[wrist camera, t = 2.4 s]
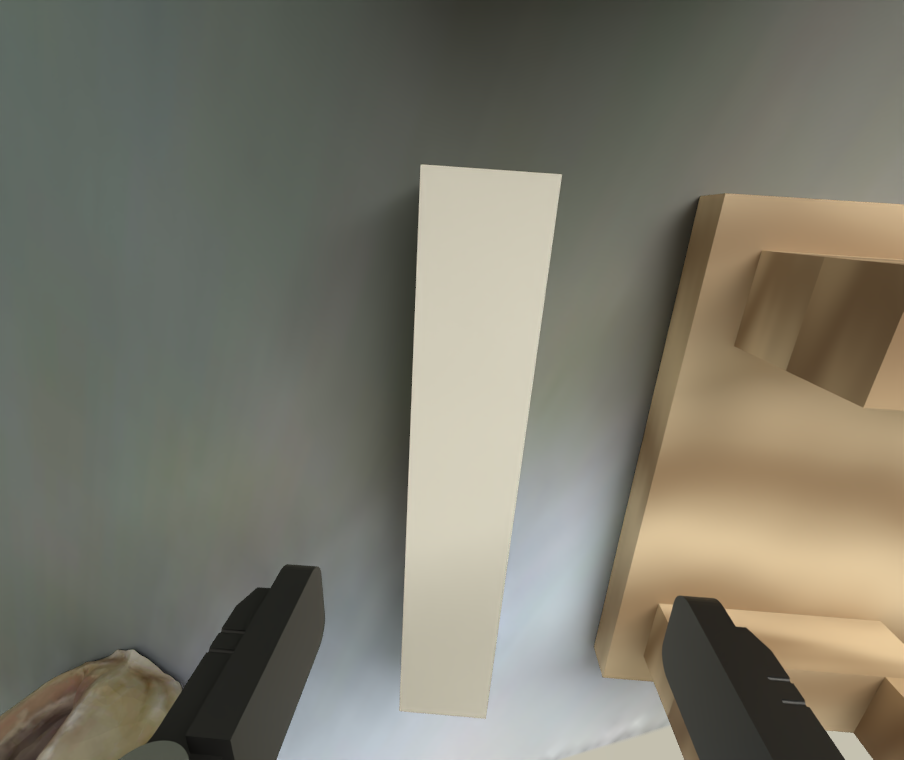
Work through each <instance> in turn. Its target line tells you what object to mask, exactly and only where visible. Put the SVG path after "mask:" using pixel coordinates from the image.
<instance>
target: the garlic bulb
mask: <svg viewBox="0 0 904 760" xmlns="http://www.w3.org/2000/svg"><path fill="white" fill-rule="evenodd" d="M181 691H182V687H181V685H180V683H179V682H177V681H175V680H174V679H173V678H172V677H171V676H170V675H167V674H165V673H163V672H162V671H161V670H160V669H159V668H158V667H157V666H156V665H155V664H153V663H152V662H151V661H150V660H148V659H147V658H145V657H143V656H141V655H140V654H138V653H137V652H136V651H135V650H127V651H124V650H116V651H115V652H114V653H113V654H112V655H110V656H108V657H106V658H103V659H100V660H97V661H92V662H85V663H84V664H83V665H81V666H79V667H76V668H74V669H72V670H70V671H67V672H65V673H63V674H61V675H59V676H57V677H55V678H53V679H51V680H50V681H48V682H46V683H45V684H43V685H42V686H41V687H40V688H38V689H37V690H36V691H34V692H33V693H31V694H30V695H29V696H27V697H26V698H25V699H23V700H22V701H21V702H19V703H18V704H16V705H15V706H13V707H12V708H11V709H9V710H8V711H6V712H5V713H4V714H2V715H1V716H0V760H118V759H120V758H121V757H123V756H124V755H126V754H127V753H129V752H130V751H132V750H134V749H136V748H138V747H140V746H142V745H144V744H146V743H147V742H148V741H149V739H150V738H151V737H152V736H153V734H154V733H155V732H156V730H157V729H158V727H159V726H160V724H161V723H162V721H163V719H164V718H165V716H166V715H167V713H168V712H169V710H170V708H171V707H172V705H173V704H174V702H175V701H176V699H177V698H178V696H179V694H180V693H181Z"/></svg>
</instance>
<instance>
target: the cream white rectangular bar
mask: <svg viewBox="0 0 904 760" xmlns="http://www.w3.org/2000/svg"><path fill="white" fill-rule="evenodd" d="M561 178H562V174H549V173H535V172H521V171H507V170H493V169H478V168H464V167H450V166H436V165H422V164H421V169H420V194H419V220H418V246H417V271H416V297H415V323H414V348H413V374H412V400H411V425H410V451H409V477H408V502H407V528H406V553H405V579H404V605H403V630H402V656H401V682H400V707H399V711H404V712H416V713H427V714H439V715H450V716H462V717H473V718H485V719H486V713H487V706H488V698H489V691H490V684H491V677H492V670H493V663H494V656H495V649H496V641H497V634H498V627H499V620H500V613H501V606H502V599H503V592H504V584H505V577H506V570H507V563H508V556H509V549H510V542H511V534H512V527H513V520H514V513H515V506H516V499H517V492H518V485H519V477H520V470H521V463H522V456H523V449H524V442H525V435H526V428H527V420H528V413H529V406H530V399H531V392H532V385H533V378H534V371H535V363H536V356H537V349H538V342H539V335H540V328H541V321H542V314H543V306H544V299H545V292H546V285H547V278H548V271H549V264H550V257H551V249H552V242H553V235H554V228H555V221H556V214H557V207H558V199H559V192H560V185H561Z"/></svg>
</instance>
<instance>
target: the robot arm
mask: <svg viewBox="0 0 904 760" xmlns="http://www.w3.org/2000/svg"><path fill="white" fill-rule="evenodd" d="M324 624H325V611H324V600H323V589H322V577H321V570H320V568H319V567H315V566H301V565H288V564H287V565H285V566H284V567H283V568H282V569H281V571H280V573H279V574H278V576H277V578H276V580H275V581H274V583H273V585H272V586H271V588H256V589H255V590H254V591H253V592H252V593H251V594H249V595H248V596H247V597H246V598H245V599H244V600H243V601H241V602H240V603H239V604H238V605H237V606H236V607H235V609H234V610H233V612H232V613H231V615H230V617H229V618H228V620H227V621H226V623H225V624H224V626H223V627H222V631H221V633H219V634H218V635H217V637H216V638H215V640H214V641H213V643H212V645H211V646H210V649H209V652H208V653H206V654H205V656H204V657H203V659H202V660H201V662H200V663H199V665H198V666H197V668H196V670H195V671H194V673H193V674H192V676H191V677H190V679H189V680H188V682H187V684H186V685H185V687H184V688H183V690H182V691H181V693H180V694H179V696H178V698H177V699H176V701H175V702H174V704H173V705H172V707H171V708H170V710H169V712H168V713H167V715H166V716H165V718H164V719H163V721H162V723H161V724H160V726H159V727H158V729H157V730H156V732H155V733H154V734H153V736H152V737H151V738H150V739H149V741H148V742H147V743H146V744H144V745H142V746H140V747H138V748H136V749H134V750H132V751H130V752H129V753H127V754H126V755H124V756H123V757H121V758H120V759H118V760H276V759H277V756H278V754H279V751H280V749H281V746H282V743H283V741H284V738H285V736H286V733H287V730H288V728H289V725H290V723H291V720H292V717H293V715H294V712H295V710H296V707H297V704H298V702H299V699H300V697H301V694H302V691H303V689H304V686H305V683H306V681H307V678H308V676H309V673H310V670H311V668H312V665H313V663H314V660H315V657H316V655H317V652H318V650H319V647H320V644H321V640H322V636H323V631H324ZM662 661H663V667H664V672H665V675H666V678H667V681H668V683H669V686H670V688H671V691H672V693H673V696H674V698H675V700H676V703H677V705H678V708H679V710H680V713H681V715H682V718H683V720H684V723H685V725H686V728H687V730H688V733H689V735H690V738H691V740H692V743H693V745H694V748H695V750H696V753H697V755H698V758H699V760H845V759H844V757H843V756H842V755H841V753H840V752H839V750H838V749H837V747H836V746H835V744H834V743H833V741H832V740H831V738H830V737H829V735H828V734H827V732H826V731H825V729H824V728H823V726H822V725H821V723H820V722H819V720H818V719H817V717H816V716H815V714H814V713H813V711H812V710H811V708H810V707H807V706H806V704H805V700H804V698H803V697H802V695H801V694H800V692H799V691H798V689H797V688H796V686H795V685H794V683H791V682H790V677H789V676H788V674H787V673H786V671H785V670H784V668H783V667H782V665H781V664H780V662H779V661H778V660H777V658H776V657H775V655H774V654H773V652H772V651H771V650H770V649H769V648H768V647H767V646H766V645H765V644H764V643H763V642H762V641H760V640H759V639H758V638H757V637H756V636H755V635H754V634H753V633H752V632H751V631H750V630H749V629H747V628H746V627H736V626H735V624H734V623H733V621H732V620H731V618H730V616H729V615H728V613H727V612H726V610H725V608H724V607H723V605H722V604H721V603H720V602H719V601H718V600H717V599H715V598H707V597H694V596H680V595H679V596H677V597H676V598H675V600H674V603H673V607H672V611H671V615H670V618H669V622H668V626H667V629H666V633H665V637H664V641H663V645H662Z"/></svg>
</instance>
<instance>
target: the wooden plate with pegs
mask: <svg viewBox="0 0 904 760" xmlns="http://www.w3.org/2000/svg"><path fill="white" fill-rule="evenodd" d="M679 595H680V596H694V597H707V598H715V599H717V600H718V601H719V602H720V603H721V604H722V605H723V607H724V608H725V610H726V612H727V613H728V615H729V616H730V618H731V620H732V621H733V623H734V624H735V626H736V627H746V628H747V629H749V630H750V631H751V632H752V633H753V634H754V635H755V636H756V637H757V638H758V639H759V640H760V641H762V642H763V643H764V644H765V645H766V646H767V647H768V648H769V649H770V650H771V651H772V652H773V654H774V655H775V657H776V658H777V660H778V661H779V662H780V664H781V665H782V667H783V668H784V670H785V671H786V673H787V674H788V676H789V677H790V682H791V683H794V685H795V686H796V688H797V689H798V691H799V692H800V694H801V695H802V697H803V698H804V700H805V704H806V706H807V707H810V708H811V710H812V711H813V713H814V714H815V716H816V717H817V719H818V720H819V722H820V723H821V725H822V726H823V728H824V729H825V730H827V731H839V732H851V733H854V734H855V735H856V737H857V738H858V739H859V741H860V742H861V744H862V745H863V746H864V747H865V749H866V750H867V752H868V753H869V754H870V755H871V757H872V758H873V760H904V205H902V204H886V203H870V202H854V201H838V200H822V199H806V198H790V197H774V196H758V195H742V194H726V193H725V194H716V195H707V196H700V199H699V203H698V207H697V212H696V216H695V220H694V224H693V229H692V233H691V237H690V241H689V245H688V250H687V254H686V258H685V262H684V267H683V271H682V275H681V279H680V284H679V288H678V292H677V296H676V301H675V305H674V309H673V313H672V318H671V322H670V326H669V330H668V335H667V339H666V343H665V347H664V351H663V356H662V360H661V364H660V368H659V373H658V377H657V381H656V385H655V390H654V394H653V398H652V402H651V407H650V411H649V415H648V419H647V424H646V428H645V432H644V436H643V441H642V445H641V449H640V453H639V457H638V462H637V466H636V470H635V474H634V479H633V483H632V487H631V491H630V496H629V500H628V504H627V508H626V513H625V517H624V521H623V525H622V530H621V534H620V538H619V542H618V547H617V551H616V555H615V559H614V563H613V568H612V572H611V576H610V580H609V585H608V589H607V593H606V597H605V602H604V606H603V610H602V614H601V619H600V623H599V627H598V631H597V636H596V640H595V644H594V649H595V653H596V656H597V659H598V663H599V666H600V670H601V673H602V677H604V678H616V679H628V680H640V681H652V682H654V684H655V687H656V689H657V692H658V694H659V697H660V699H661V702H662V704H663V707H664V709H665V712H666V714H667V717H668V719H669V722H670V724H671V727H672V729H673V732H674V734H675V737H676V739H677V742H678V745H679V747H680V750H681V752H682V755H683V757H684V760H699V758H698V755H697V753H696V750H695V748H694V745H693V743H692V740H691V738H690V735H689V733H688V730H687V728H686V725H685V723H684V720H683V718H682V715H681V713H680V710H679V708H678V705H677V703H676V700H675V698H674V696H673V693H672V691H671V688H670V686H669V683H668V681H667V678H666V675H665V672H664V667H663V661H662V645H663V641H664V637H665V633H666V629H667V626H668V622H669V618H670V615H671V611H672V607H673V603H674V600H675V598H676V597H677V596H679Z"/></svg>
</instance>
